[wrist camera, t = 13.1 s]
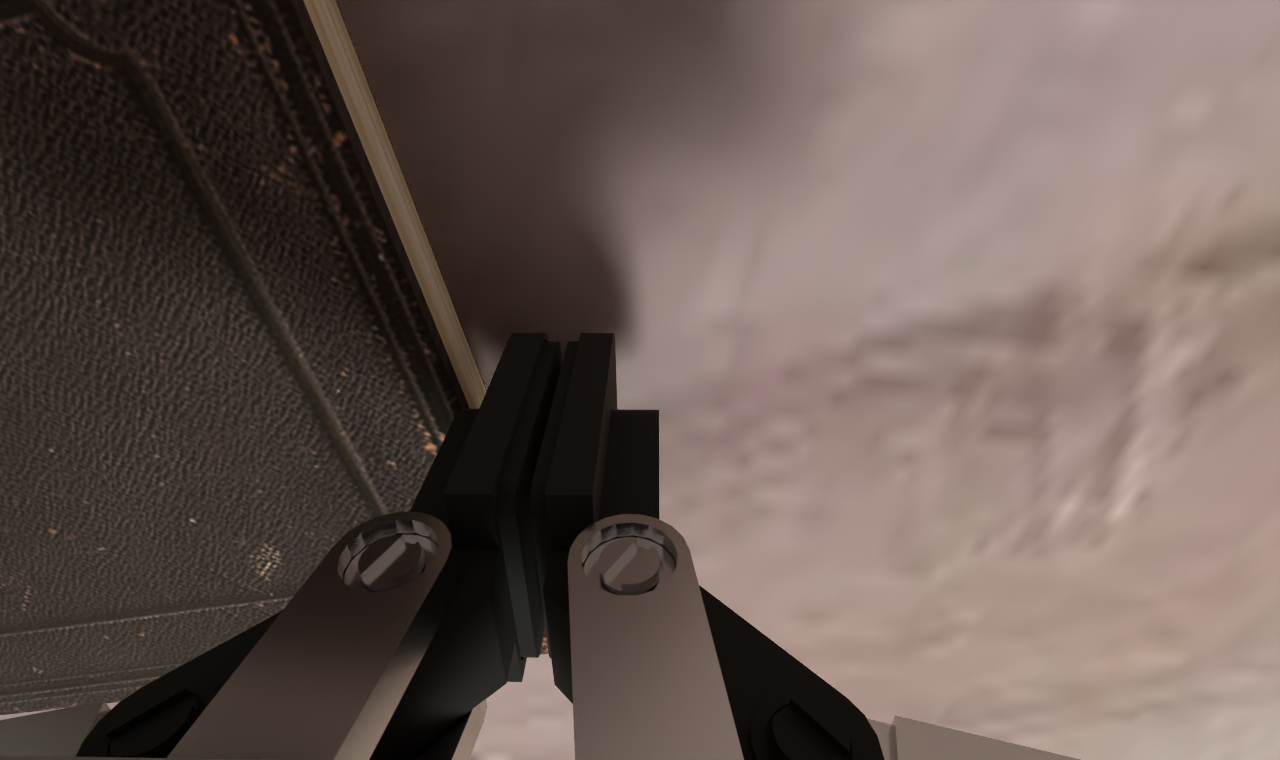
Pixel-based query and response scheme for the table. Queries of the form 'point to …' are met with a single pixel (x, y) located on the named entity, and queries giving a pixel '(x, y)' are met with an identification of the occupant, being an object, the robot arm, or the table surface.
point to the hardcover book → (197, 330)
